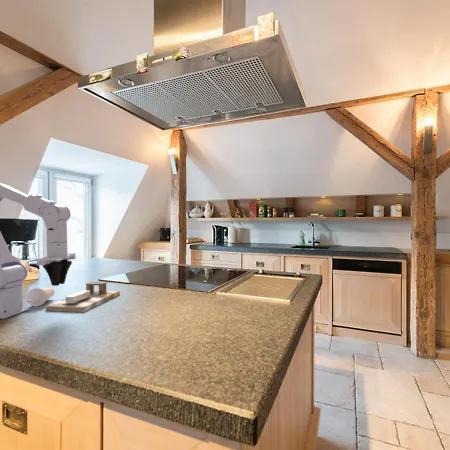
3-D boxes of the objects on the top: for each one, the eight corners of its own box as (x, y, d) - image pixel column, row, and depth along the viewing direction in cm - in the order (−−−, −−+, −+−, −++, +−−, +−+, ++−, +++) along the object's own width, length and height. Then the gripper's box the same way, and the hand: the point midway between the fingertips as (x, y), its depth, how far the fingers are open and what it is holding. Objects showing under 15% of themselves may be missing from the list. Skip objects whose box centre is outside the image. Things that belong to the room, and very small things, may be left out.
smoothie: (37, 296, 111) (15, 304, 98) (45, 281, 112) (24, 287, 98) (53, 303, 112) (33, 313, 98) (61, 288, 112) (42, 295, 99)
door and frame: (83, 312, 95) (83, 294, 95) (45, 310, 98) (45, 293, 98) (119, 294, 117) (119, 280, 117) (87, 293, 120) (87, 280, 119)
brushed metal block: (73, 303, 99) (73, 296, 99) (65, 303, 99) (65, 296, 99) (90, 296, 108) (90, 290, 108) (82, 296, 108) (82, 290, 108)
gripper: (50, 244, 86) (52, 290, 86) (83, 240, 100) (84, 280, 100) (30, 244, 87) (31, 289, 87) (64, 240, 101) (65, 279, 102)
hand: (58, 284), depth 94 cm, fingers closed
